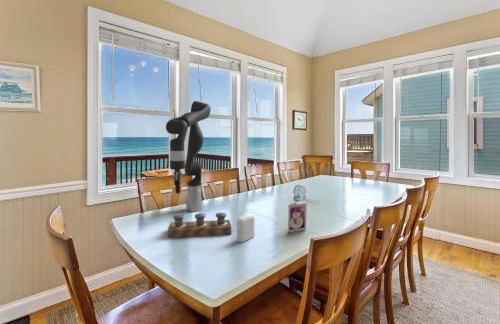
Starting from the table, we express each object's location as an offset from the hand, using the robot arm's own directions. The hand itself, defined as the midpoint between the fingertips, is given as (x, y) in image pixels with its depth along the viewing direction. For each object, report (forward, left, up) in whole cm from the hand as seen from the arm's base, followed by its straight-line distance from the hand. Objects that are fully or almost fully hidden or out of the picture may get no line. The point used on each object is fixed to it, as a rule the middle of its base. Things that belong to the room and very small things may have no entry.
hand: (177, 192), depth 138 cm
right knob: (+19, +11, -17) cm, 28 cm away
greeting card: (+56, +28, -22) cm, 66 cm away
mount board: (+10, +6, -22) cm, 24 cm away
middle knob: (+10, +6, -17) cm, 21 cm away
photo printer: (+36, +6, -22) cm, 42 cm away
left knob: (0, 0, -17) cm, 17 cm away
